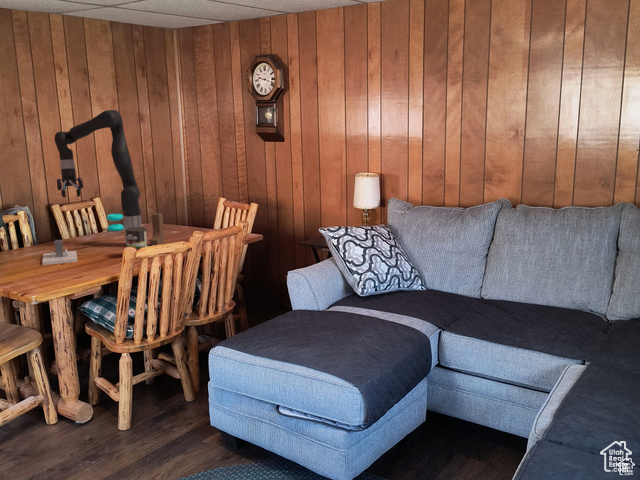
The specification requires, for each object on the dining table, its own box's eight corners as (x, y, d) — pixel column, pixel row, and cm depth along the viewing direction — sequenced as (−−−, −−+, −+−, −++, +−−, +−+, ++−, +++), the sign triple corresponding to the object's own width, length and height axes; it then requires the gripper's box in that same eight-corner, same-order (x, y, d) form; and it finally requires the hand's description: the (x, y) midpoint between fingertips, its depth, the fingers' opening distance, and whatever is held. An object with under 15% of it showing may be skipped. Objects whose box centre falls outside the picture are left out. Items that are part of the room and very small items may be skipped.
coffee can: (139, 258, 307) (137, 231, 305) (123, 256, 311) (121, 230, 308) (152, 253, 317) (150, 227, 314) (136, 252, 321) (134, 226, 318)
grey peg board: (43, 256, 314) (42, 248, 313) (76, 253, 320) (75, 245, 319) (42, 265, 296) (41, 256, 295) (77, 261, 302) (76, 252, 301)
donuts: (103, 214, 381) (117, 212, 388) (104, 230, 383) (119, 228, 390) (111, 216, 374) (125, 214, 381) (112, 232, 376) (127, 229, 384)
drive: (56, 255, 309) (54, 240, 308) (63, 254, 311) (62, 239, 309) (56, 257, 305) (54, 242, 303) (63, 256, 306) (62, 241, 305)
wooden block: (157, 248, 330) (155, 215, 327) (150, 247, 331) (147, 215, 327) (164, 244, 339) (162, 213, 335) (157, 244, 340) (155, 213, 336)
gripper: (52, 168, 332) (56, 198, 334) (76, 167, 330) (79, 196, 332) (59, 168, 339) (63, 197, 341) (83, 166, 337) (86, 195, 339)
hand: (71, 196), depth 336 cm, fingers open, 8 cm apart
